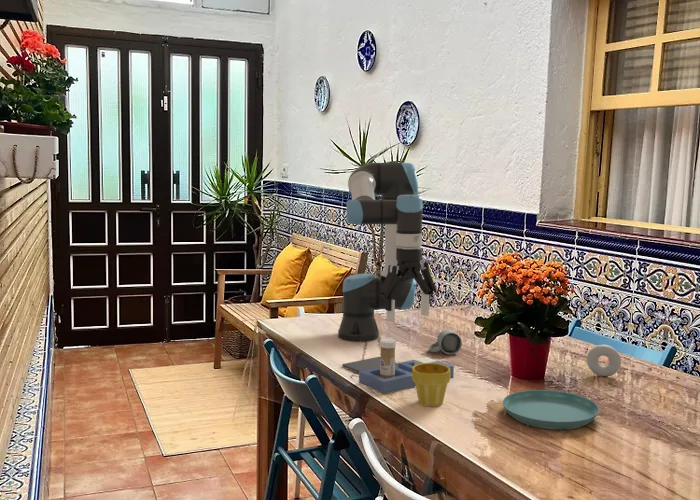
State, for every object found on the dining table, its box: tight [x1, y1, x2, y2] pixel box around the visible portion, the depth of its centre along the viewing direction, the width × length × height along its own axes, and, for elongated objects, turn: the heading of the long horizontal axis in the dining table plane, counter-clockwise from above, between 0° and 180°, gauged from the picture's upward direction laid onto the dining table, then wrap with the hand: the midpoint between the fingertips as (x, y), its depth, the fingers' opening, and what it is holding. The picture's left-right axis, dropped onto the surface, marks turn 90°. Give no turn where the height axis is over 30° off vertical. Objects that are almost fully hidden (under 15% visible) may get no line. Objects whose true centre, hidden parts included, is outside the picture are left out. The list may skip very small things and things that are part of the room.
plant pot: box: [412, 363, 451, 408], centre depth 194 cm, size 10×10×10 cm
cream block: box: [413, 356, 438, 366], centre depth 218 cm, size 5×5×5 cm
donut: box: [586, 344, 622, 377], centre depth 217 cm, size 10×3×10 cm, turn 65°
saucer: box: [502, 389, 600, 430], centre depth 185 cm, size 24×24×3 cm
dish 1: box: [358, 367, 416, 395], centre depth 209 cm, size 12×12×4 cm
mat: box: [341, 356, 399, 374], centre depth 226 cm, size 15×15×1 cm
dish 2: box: [397, 356, 455, 379], centre depth 218 cm, size 12×12×4 cm
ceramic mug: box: [428, 329, 463, 356], centre depth 245 cm, size 11×8×8 cm
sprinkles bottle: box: [379, 338, 397, 379], centre depth 209 cm, size 5×5×14 cm
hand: (408, 318), depth 211 cm, fingers open, 13 cm apart
